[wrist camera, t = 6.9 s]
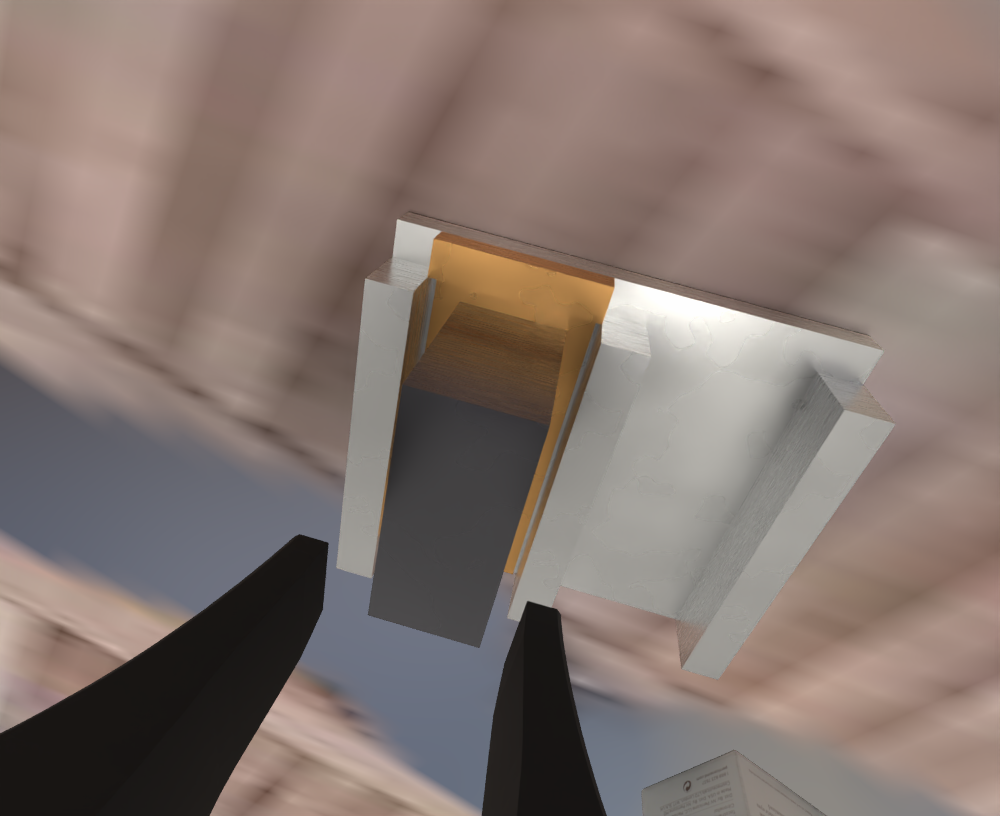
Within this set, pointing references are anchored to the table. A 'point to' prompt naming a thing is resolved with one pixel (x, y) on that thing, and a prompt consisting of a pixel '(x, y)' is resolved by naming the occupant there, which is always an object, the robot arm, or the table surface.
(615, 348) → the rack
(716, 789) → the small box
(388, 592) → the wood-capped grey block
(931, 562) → the table surface
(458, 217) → the table surface
